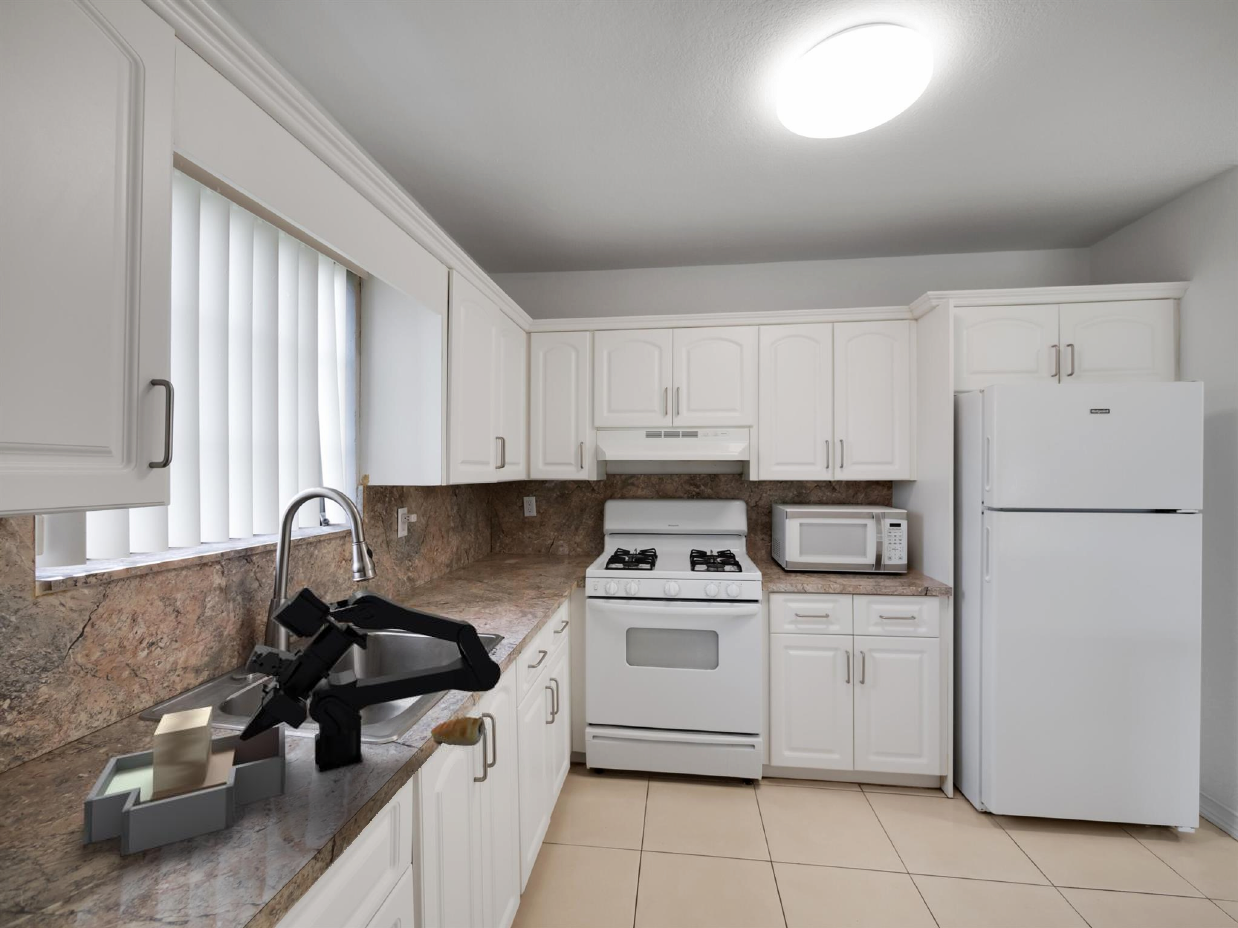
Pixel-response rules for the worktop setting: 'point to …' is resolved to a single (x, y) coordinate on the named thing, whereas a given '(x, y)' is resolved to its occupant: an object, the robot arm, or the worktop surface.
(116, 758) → the box
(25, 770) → the worktop surface
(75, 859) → the worktop surface
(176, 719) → the block
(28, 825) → the worktop surface
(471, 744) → the pastry
